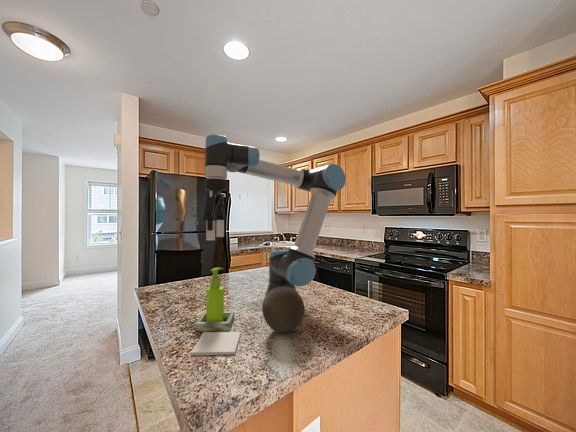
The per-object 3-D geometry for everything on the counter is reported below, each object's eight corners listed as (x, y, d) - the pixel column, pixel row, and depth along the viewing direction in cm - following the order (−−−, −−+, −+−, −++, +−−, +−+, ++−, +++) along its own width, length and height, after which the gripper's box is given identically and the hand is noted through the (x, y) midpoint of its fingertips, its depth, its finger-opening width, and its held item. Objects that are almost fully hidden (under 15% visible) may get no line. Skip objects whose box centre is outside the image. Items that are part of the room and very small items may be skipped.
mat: (240, 334, 82) (240, 331, 82) (234, 354, 70) (234, 351, 70) (203, 334, 82) (203, 332, 82) (191, 355, 70) (191, 352, 70)
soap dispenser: (228, 321, 92) (228, 267, 92) (217, 329, 85) (217, 270, 85) (214, 319, 94) (215, 266, 94) (202, 327, 87) (203, 269, 87)
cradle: (234, 318, 95) (234, 311, 95) (229, 330, 85) (229, 323, 85) (203, 318, 95) (203, 311, 95) (194, 331, 84) (194, 323, 84)
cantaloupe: (264, 322, 91) (265, 281, 91) (303, 323, 91) (304, 282, 91) (259, 342, 77) (259, 293, 77) (305, 343, 77) (305, 294, 77)
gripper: (214, 183, 102) (214, 235, 102) (193, 173, 77) (193, 242, 77) (232, 183, 103) (232, 235, 102) (218, 173, 78) (217, 242, 78)
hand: (215, 238), depth 90 cm, fingers open, 13 cm apart
